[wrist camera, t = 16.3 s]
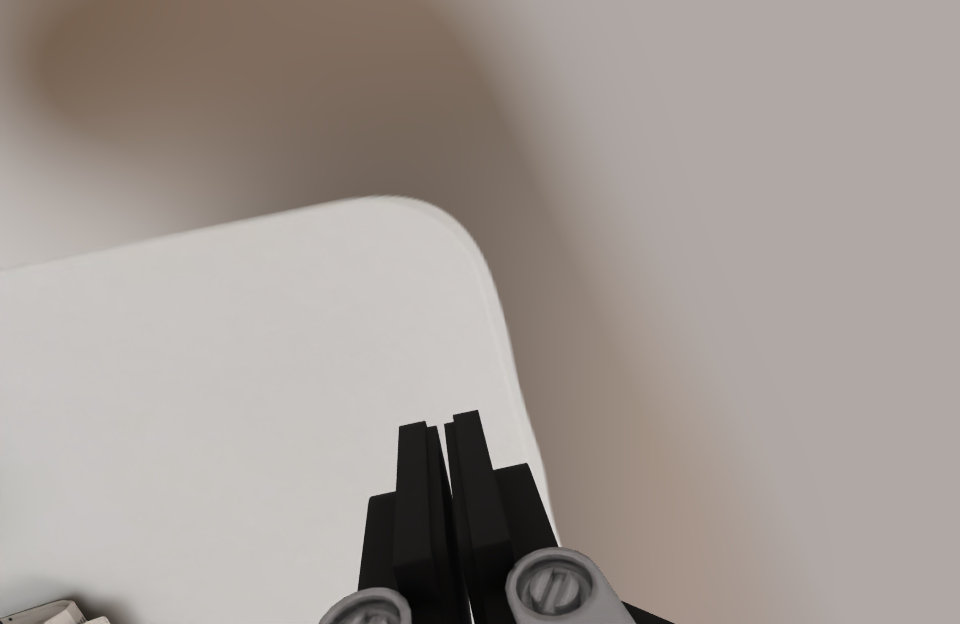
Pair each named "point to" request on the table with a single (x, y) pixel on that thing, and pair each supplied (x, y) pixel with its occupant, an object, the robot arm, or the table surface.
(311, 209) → the table surface
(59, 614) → the newspaper
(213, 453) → the table surface
